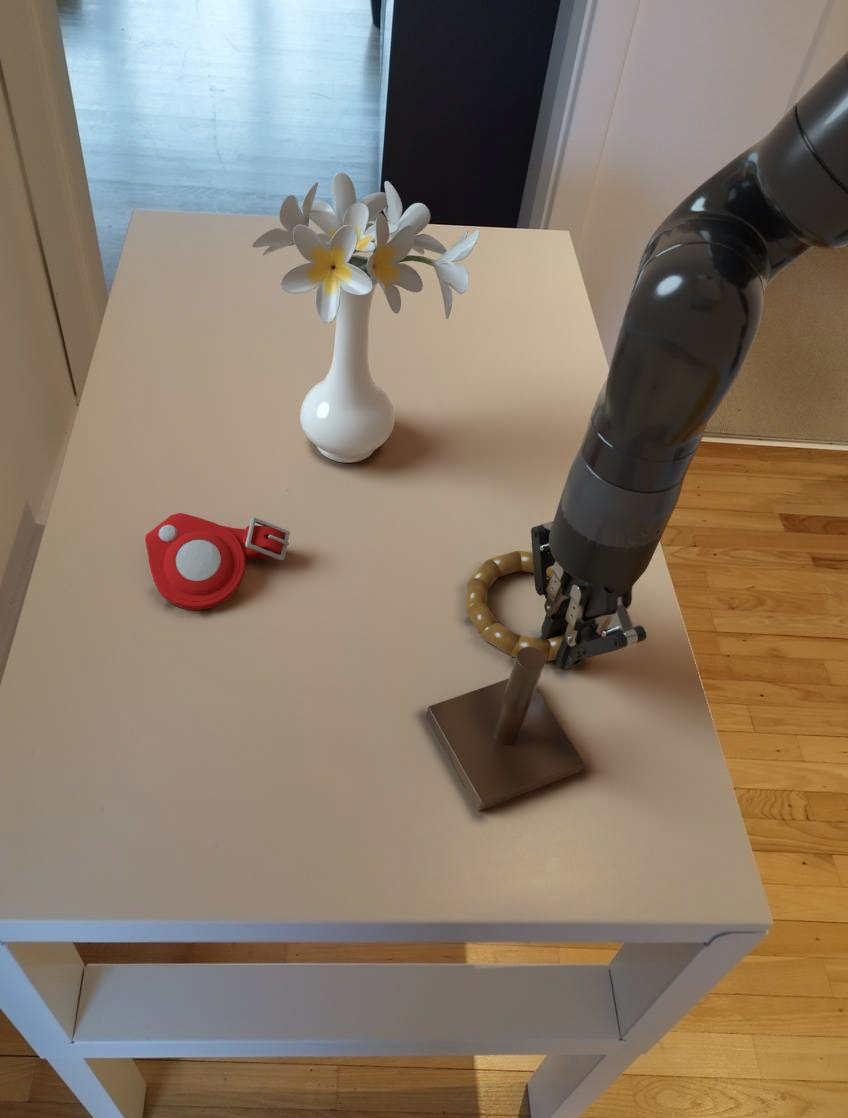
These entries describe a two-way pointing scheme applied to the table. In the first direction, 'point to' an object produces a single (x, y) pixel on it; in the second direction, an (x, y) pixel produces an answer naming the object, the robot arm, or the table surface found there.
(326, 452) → the flower vase
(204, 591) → the tracker holder
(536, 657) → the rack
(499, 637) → the ring
